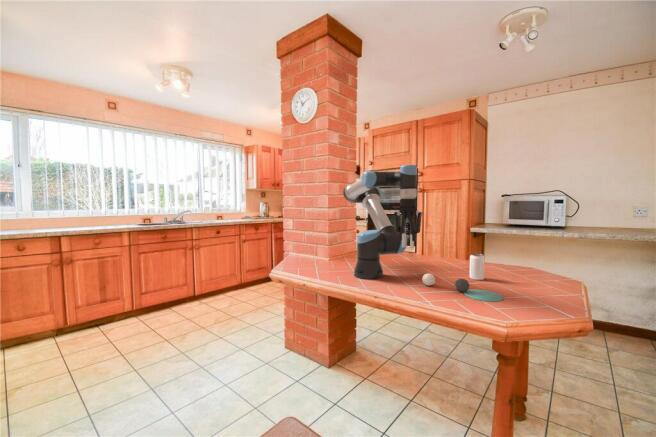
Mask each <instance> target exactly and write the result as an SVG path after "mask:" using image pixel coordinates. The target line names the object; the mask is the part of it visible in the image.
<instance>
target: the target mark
mask: <svg viewBox="0 0 656 437" xmlns="http://www.w3.org/2000/svg"><path fill="white" fill-rule="evenodd" d="M463 294H464V296H465V297H468V298H471V299H473V300H477V301H480V302H481V301H482V302H491V303H492V302H496V303H497V302H501V301H503V300H504V296H503V295H502V294H500V293H497V292H495V291H491V290H487V289H486V290H485V289H477V288H476V289H475V288H473V289H472V288H471V289H468V290H467V291H465V292H463Z"/></svg>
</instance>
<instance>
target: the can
mask: <svg viewBox="0 0 656 437" xmlns="http://www.w3.org/2000/svg"><path fill="white" fill-rule="evenodd" d="M485 264H486V260H485V256H484V254H483V253H482V254H481V253H471V254H470V256H469V278H470V279H471V280H473V281H474V280H475V281H483V280H484V279H485Z"/></svg>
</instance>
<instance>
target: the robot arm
mask: <svg viewBox="0 0 656 437" xmlns="http://www.w3.org/2000/svg"><path fill="white" fill-rule="evenodd" d="M417 168H418V167H417V166H416V165H415V164H404V165H400V168H399V171H377V170H376V171H373V170H369V171H364V172H363V173H362V175H361V178H360V179H358V180H356V181H355V182H354V183H349V184H347V185H345V187H344V188H343V191H342V195H343V198H344V200H346V201H348V203H352V204H361V205H362V206H363V208H365V209H366V210H367V212H368V215H369V216H370V218H371V220H372V222H373V224H374V227H375V228H376V229H369V230H363V231H360V232H358V234H357V237H356V245H357V246H356V251H357V253H356V255H357V256H356V258H357V259H356V264H355V267H354V270H353V276H354V277H356V278H359V279H365V280H370V279H371V280H375V279H380V278H382V277H384V270H383V267H382V264H381V260H380V258H381V257H380V256H381V255H382V256H383V255H393V254H394V255H395V254H396V255H397V254H403V253H404V252H405V250H406V249H407V247H408V246H407V245H408V238H407V233H405V231H406V226H407V225H406V224H407V219H409V223H410V224H409V225H410V230H411V233H410V234H409V241H410V242H409V243H410V244H409V248H410V249H414V248H415V242H416V240H417V234H419V233H421V225H422V224H421V223H422V216H423V214H424V212H422V211H419V210H418V209H417V203H418V201H417V196H418V194H417V191H418V190H417V187H418V185H417V184H418V180H417V179H418V172H417V171H418V169H417ZM380 187H381V188H384V187H385V188H387V187H388V188H389V187H390V188H398V187H399V189H400V190H399V198H400V199H399V209H398V210H397V211H394V212H393V214H394V217H395V225H394V224H392V223H391V221H390V219H389V217H388V216H387V214H386V211H385V209H384V208H383V206H382V204H381V202H380V201H381V199H382V193H381V189H380ZM415 216H416V220H415Z"/></svg>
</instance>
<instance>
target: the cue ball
mask: <svg viewBox="0 0 656 437" xmlns="http://www.w3.org/2000/svg"><path fill="white" fill-rule="evenodd" d="M421 278H422V282H423V284H424V285H426V286H433V285H434V284H435V283H436V277H435V276H434V275H433V274H432V273H425V274H424V275H423V276H422V277H421Z"/></svg>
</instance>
